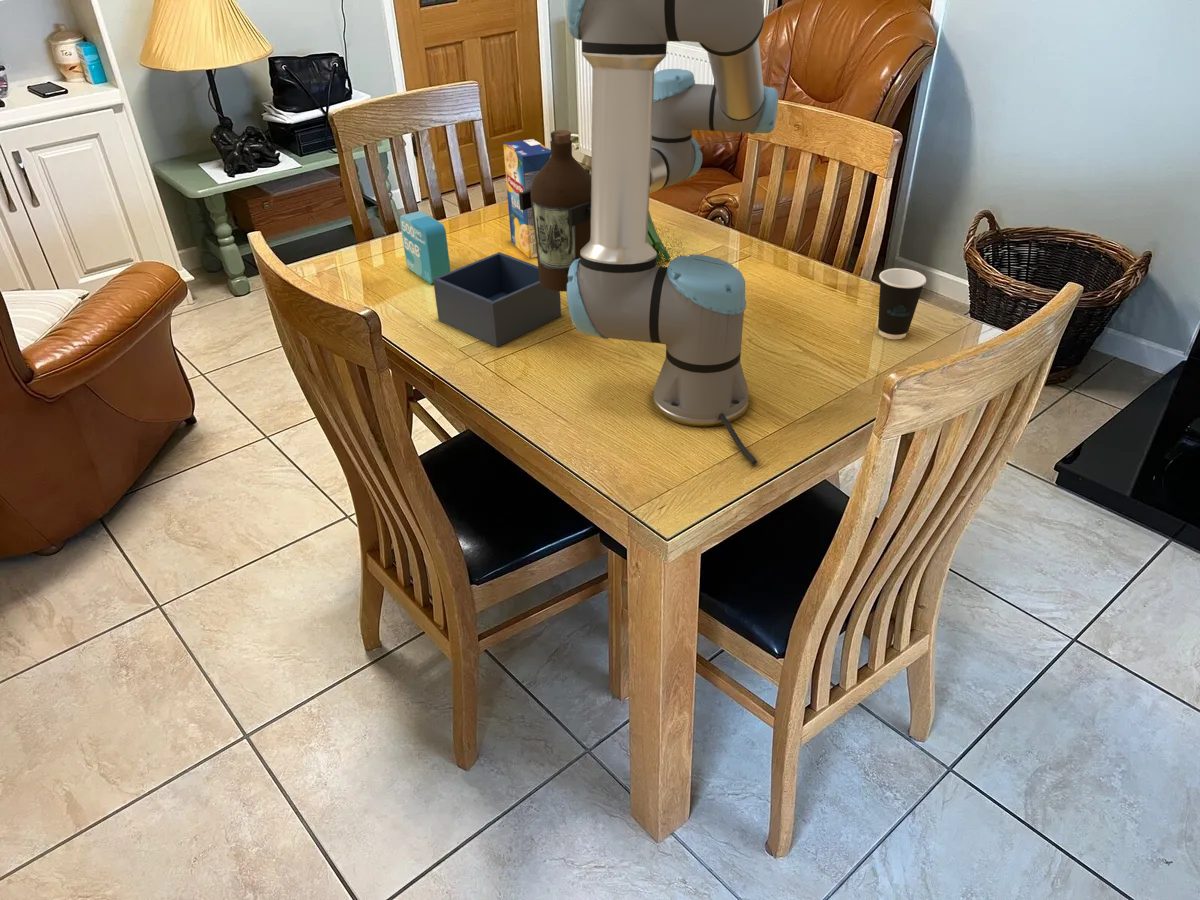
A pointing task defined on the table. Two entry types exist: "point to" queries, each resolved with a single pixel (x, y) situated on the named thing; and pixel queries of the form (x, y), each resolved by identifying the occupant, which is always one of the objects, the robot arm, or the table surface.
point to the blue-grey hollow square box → (495, 299)
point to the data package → (425, 245)
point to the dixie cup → (898, 301)
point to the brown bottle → (559, 212)
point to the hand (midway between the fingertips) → (545, 209)
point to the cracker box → (523, 189)
